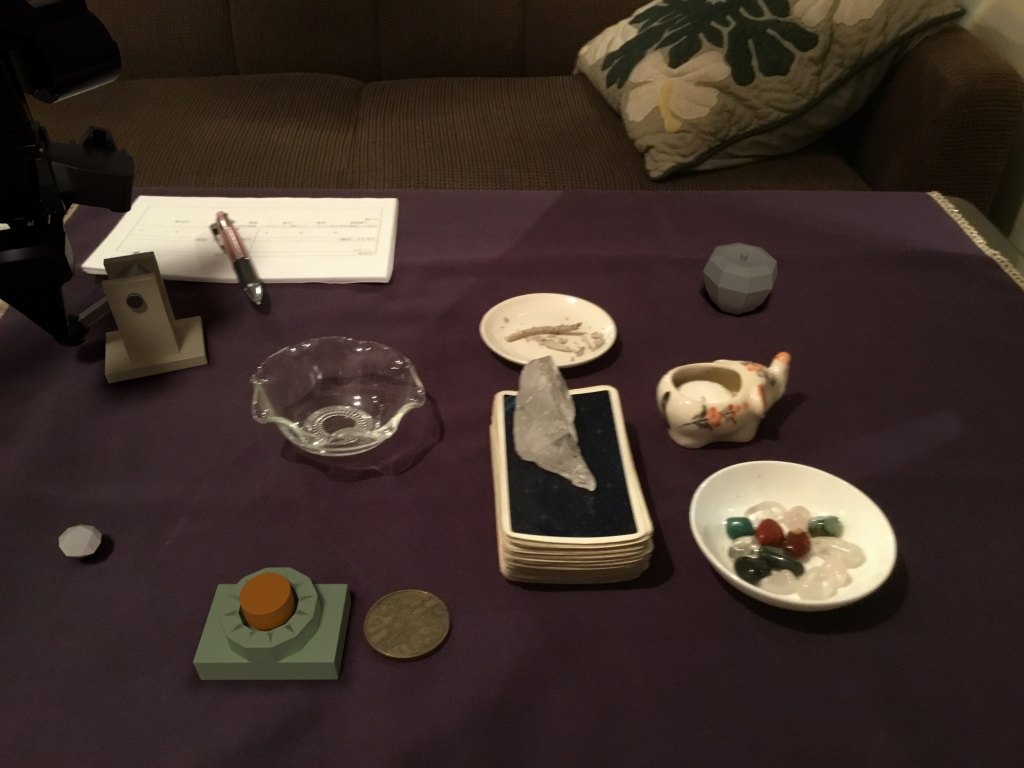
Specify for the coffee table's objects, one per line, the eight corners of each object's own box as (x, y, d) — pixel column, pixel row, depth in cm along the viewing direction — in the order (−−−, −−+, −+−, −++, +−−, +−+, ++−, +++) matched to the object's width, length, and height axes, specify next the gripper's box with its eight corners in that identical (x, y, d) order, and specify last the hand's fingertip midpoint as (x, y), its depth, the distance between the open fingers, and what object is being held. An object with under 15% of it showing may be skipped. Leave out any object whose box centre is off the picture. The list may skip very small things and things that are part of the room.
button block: (200, 681, 52) (185, 647, 49) (225, 601, 56) (212, 567, 54) (338, 680, 52) (330, 647, 49) (351, 601, 56) (344, 567, 54)
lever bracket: (108, 384, 74) (73, 297, 68) (109, 341, 79) (76, 257, 73) (207, 364, 77) (182, 278, 71) (203, 324, 82) (178, 241, 76)
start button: (239, 630, 50) (233, 614, 49) (251, 588, 53) (246, 572, 52) (289, 630, 51) (284, 614, 49) (299, 588, 53) (294, 572, 52)
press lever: (70, 359, 74) (40, 338, 71) (71, 340, 76) (43, 319, 74) (159, 296, 73) (133, 273, 71) (158, 278, 75) (133, 255, 73)
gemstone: (52, 557, 58) (49, 534, 56) (86, 536, 60) (84, 513, 58) (77, 581, 58) (75, 559, 56) (111, 559, 60) (110, 536, 58)
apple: (776, 327, 83) (791, 274, 79) (701, 324, 83) (712, 271, 79) (761, 286, 89) (774, 234, 85) (691, 283, 89) (701, 232, 85)
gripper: (114, 158, 52) (174, 347, 62) (107, 70, 65) (157, 237, 75) (-81, 185, 49) (16, 380, 59) (-47, 86, 62) (27, 259, 72)
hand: (63, 306), depth 66 cm, fingers open, 9 cm apart
